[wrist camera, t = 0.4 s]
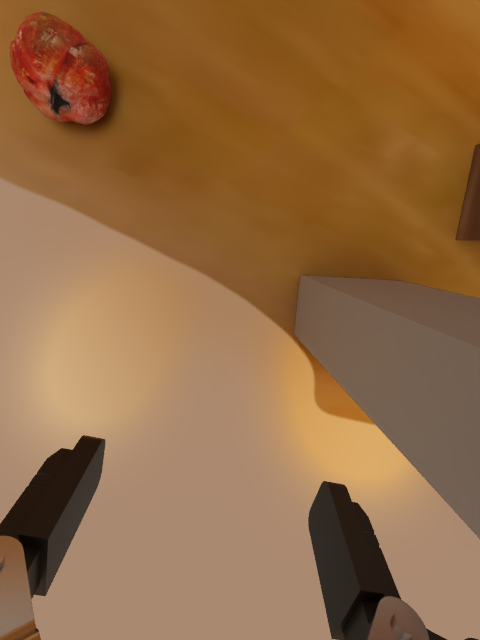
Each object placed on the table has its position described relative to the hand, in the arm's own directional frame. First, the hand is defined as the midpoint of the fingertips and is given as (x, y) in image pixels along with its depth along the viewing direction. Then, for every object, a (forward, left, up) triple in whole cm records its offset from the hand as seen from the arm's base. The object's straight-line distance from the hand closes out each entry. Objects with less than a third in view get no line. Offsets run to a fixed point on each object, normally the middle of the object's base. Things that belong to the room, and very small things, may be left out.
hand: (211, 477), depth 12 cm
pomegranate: (-20, -15, -27) cm, 36 cm away
